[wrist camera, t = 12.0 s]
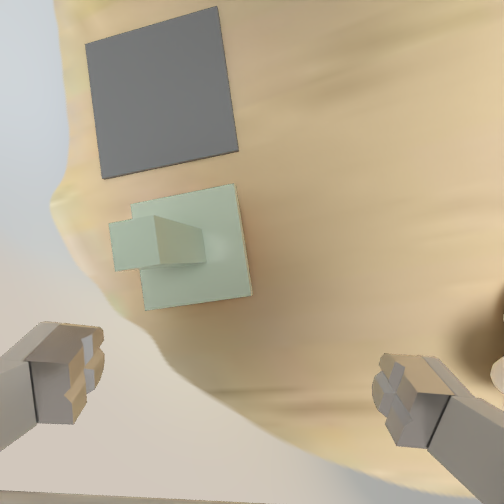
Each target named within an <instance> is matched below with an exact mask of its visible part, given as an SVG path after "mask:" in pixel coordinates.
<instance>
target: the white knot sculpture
mask: <svg viewBox="0 0 504 504" xmlns="http://www.w3.org/2000/svg"><path fill="white" fill-rule="evenodd" d="M503 320H504V316H503ZM490 376H491V379H492V382H493V384H494V386H495V387H496V388H497V389H498V390H499V391H500V392H501V393H503V394H504V356H503V357H502V358H500V359H499V360H498V361H496V362H495V363H494V364H493V365H492V369H491V373H490Z"/></svg>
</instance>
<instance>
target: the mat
mask: <svg viewBox="0 0 504 504" xmlns="http://www.w3.org/2000/svg"><path fill="white" fill-rule="evenodd" d="M85 47H86V55H87V63H88V71H89V79H90V87H91V95H92V103H93V111H94V119H95V127H96V135H97V143H98V150H99V158H100V166H101V174H102V179H109V178H114V177H119V176H123V175H128V174H133V173H138V172H142V171H147V170H152V169H157V168H162V167H166V166H171V165H176V164H181V163H185V162H190V161H195V160H200V159H205V158H209V157H214V156H219V155H224V154H228V153H233V152H238V151H239V149H238V142H237V135H236V129H235V122H234V115H233V108H232V101H231V95H230V88H229V81H228V74H227V67H226V61H225V54H224V47H223V40H222V33H221V27H220V20H219V13H218V8H217V6H215V7H211V8H208V9H204V10H201V11H198V12H194V13H191V14H187V15H184V16H180V17H177V18H173V19H170V20H167V21H163V22H160V23H156V24H153V25H149V26H146V27H142V28H139V29H136V30H132V31H129V32H125V33H122V34H118V35H115V36H111V37H108V38H105V39H101V40H98V41H94V42H91V43H87V44H85Z"/></svg>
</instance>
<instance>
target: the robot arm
mask: <svg viewBox="0 0 504 504" xmlns="http://www.w3.org/2000/svg"><path fill="white" fill-rule="evenodd" d="M103 341H104V336H103V330H102V329H101V328H100V327H95V326H86V325H77V324H68V323H58V322H46V321H45V322H41V323H39V324H38V325H37V326H36V327H34V328H33V329H32V330H31V331H30V332H29V333H28V334H26V335H25V336H24V337H23V338H22V339H21V340H20V341H18V342H17V343H16V344H15V345H14V346H13V347H12V348H10V349H9V350H8V351H7V352H6V353H5V354H4V355H2V356H1V357H0V451H2V450H3V449H5V448H6V447H7V446H9V445H10V444H11V443H13V442H14V441H16V440H17V439H18V438H20V437H21V436H22V435H24V434H25V433H26V432H28V431H29V430H31V429H32V428H33V427H35V426H36V425H37V423H46V424H47V423H48V424H49V423H50V424H74V423H75V421H76V420H77V418H78V416H79V415H80V413H81V411H82V410H83V408H84V406H85V405H86V403H87V396H86V394H88V393H89V392H91V391H93V390H94V389H95V388H96V386H97V384H98V383H99V381H100V378H101V375H102V372H103V368H104V353H103V352H102V351H101V349H100V348H99V347H100V345H101V344H102V342H103ZM379 366H380V368H381V370H382V371H381V372H380V373H378V374H377V375H376V376H375V377H374V381H373V384H372V396H373V399H374V403H375V405H376V407H377V409H378V411H379V412H381V413H382V414H383V415H384V416H386V417H387V419H386V423H385V425H386V427H387V429H388V430H389V432H390V434H391V436H392V438H393V440H394V442H395V444H396V446H402V447H412V448H422V449H428V450H427V451H428V452H429V453H430V454H431V455H432V456H433V457H434V458H435V459H436V460H438V461H439V462H440V463H441V464H442V465H443V466H444V467H445V468H446V469H447V470H448V471H449V472H450V473H451V474H452V475H453V476H454V477H455V478H456V479H458V480H459V481H460V482H461V483H462V484H463V485H464V486H465V487H466V488H467V489H468V490H469V491H470V492H471V493H472V494H473V495H474V496H475V497H476V498H477V499H479V500H480V501H481V502H482V503H483V504H504V411H502V410H500V409H498V408H497V407H495V406H493V405H492V404H490V403H488V402H486V401H485V400H483V399H481V398H475V397H474V396H473V395H472V394H471V393H470V391H469V390H468V389H467V388H466V387H465V386H464V385H463V384H462V383H461V382H460V381H459V380H458V379H457V378H456V376H455V375H454V374H453V373H452V372H451V371H450V370H449V369H448V368H447V367H446V366H445V365H444V364H443V363H442V361H441V360H440V359H438V358H436V357H434V356H421V355H417V356H414V355H402V354H389V353H384V355H383V356H382V357H381V359H380V362H379ZM0 504H264V503H244V502H224V501H223V502H222V501H205V500H203V501H202V500H185V499H165V498H143V497H124V496H104V495H83V494H64V493H44V492H24V491H4V490H3V491H2V490H0Z"/></svg>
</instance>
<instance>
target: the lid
mask: <svg viewBox="0 0 504 504" xmlns="http://www.w3.org/2000/svg"><path fill="white" fill-rule="evenodd" d="M130 205H131V212H132V219H130V220H125V221H119V222H114V223H109V230H110V237H111V245H112V252H113V260H114V267H115V272H116V271H130V270H140V277H141V284H142V291H143V298H144V306H145V311H147V310H154V309H161V308H168V307H176V306H183V305H190V304H197V303H204V302H211V301H218V300H225V299H232V298H239V297H247V296H252V295H253V292H252V285H251V279H250V272H249V266H248V259H247V253H246V247H245V240H244V234H243V227H242V221H241V214H240V208H239V202H238V195H237V189H236V185H235V184H234V183H233V184H228V185H223V186H218V187H213V188H208V189H204V190H199V191H194V192H189V193H184V194H179V195H174V196H169V197H164V198H159V199H154V200H149V201H144V202H139V203H134V204H130Z"/></svg>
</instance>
